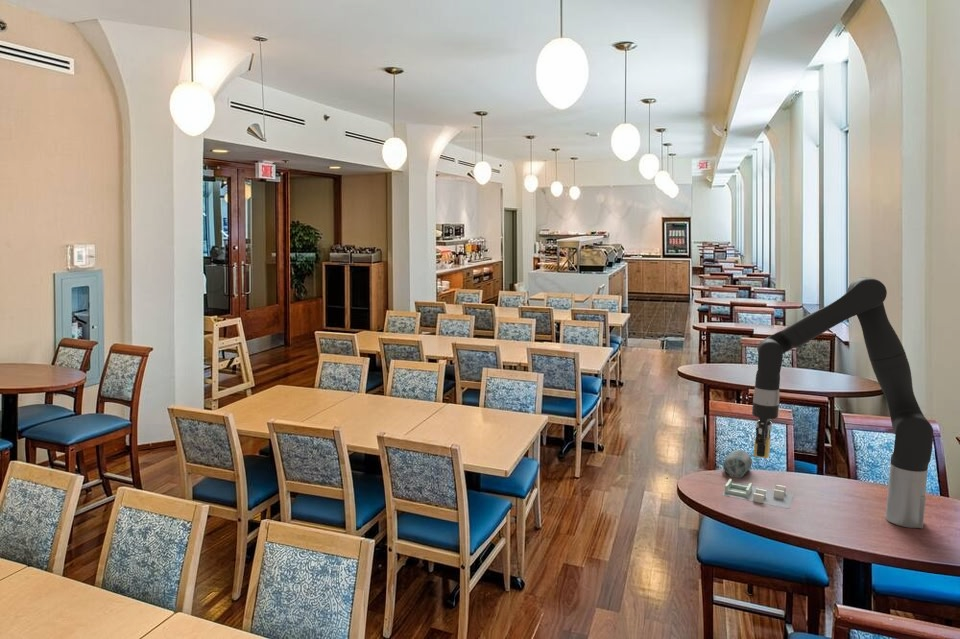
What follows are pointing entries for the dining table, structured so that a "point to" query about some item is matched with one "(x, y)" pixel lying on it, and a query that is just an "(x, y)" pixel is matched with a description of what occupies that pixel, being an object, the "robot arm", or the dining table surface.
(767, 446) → the yellow drawer
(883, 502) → the dining table surface
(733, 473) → the spool
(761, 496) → the white blocks
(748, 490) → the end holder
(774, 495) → the white blocks
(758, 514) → the dining table surface
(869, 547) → the dining table surface
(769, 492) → the board
